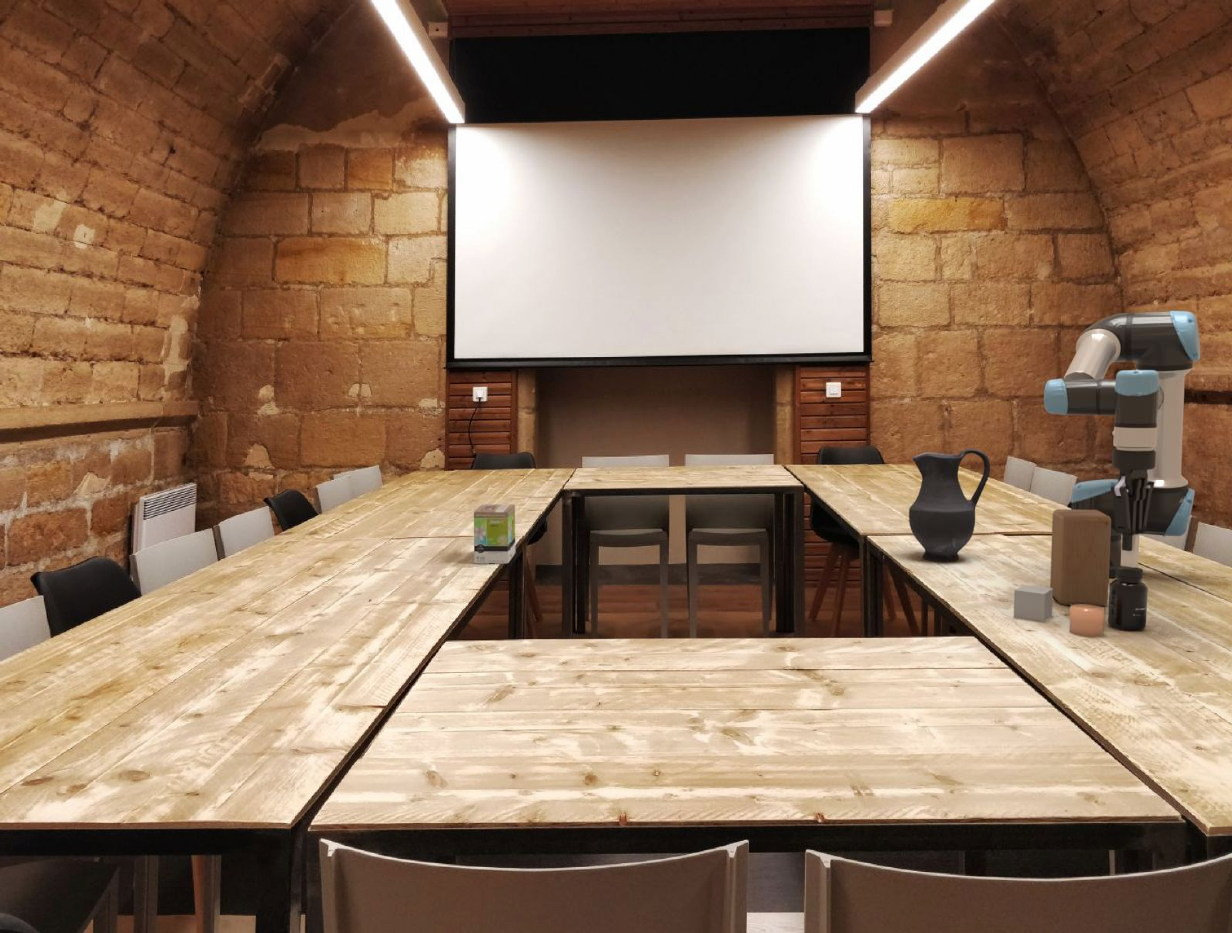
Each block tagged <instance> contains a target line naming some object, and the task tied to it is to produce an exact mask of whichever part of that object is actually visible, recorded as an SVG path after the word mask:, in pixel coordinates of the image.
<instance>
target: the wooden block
mask: <svg viewBox="0 0 1232 933" xmlns="http://www.w3.org/2000/svg"><path fill="white" fill-rule="evenodd" d="M1051 524H1052V528H1051V552H1050V553H1051V554H1050V556H1051V557H1050V558H1051V560H1050V580H1049V581H1050V584H1049V585H1050V586H1049V588H1053V598H1054V599H1055V600H1056V602H1058V603H1059V604H1061V605H1063V606H1071V605H1076V604H1086V605H1094V606H1099V607H1104V606H1107V604H1109V588H1110V583H1109V582H1110V581H1109V580H1110V577H1109V561H1110V536H1111V519H1110V517H1109V516H1107V515H1105V514H1103V513H1101V512H1100V511H1097V510H1071V509H1066V508H1065V509H1058V508H1057V509H1055V510H1054V511H1053V512H1052V521H1051Z"/></svg>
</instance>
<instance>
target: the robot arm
mask: <svg viewBox="0 0 1232 933" xmlns="http://www.w3.org/2000/svg"><path fill="white" fill-rule="evenodd" d="M1200 342H1201V341H1200V332H1199V325H1198V321H1197V318H1196V315H1195V314H1194V313H1193V312H1191V311H1188V310H1187V311H1181V310H1165V311H1148V312H1147V311H1145V312H1144V311H1143V312H1122V313H1116V314H1113V315H1109V316H1106V317H1105V318H1103V319H1100V320H1098V321H1096V322H1094V323H1093V324H1091V325H1090V326H1089V327H1088V328H1086V329H1085V330H1084V331H1083V332H1082V333H1081V334H1080V335H1079V338H1078V339H1077V341H1076V344H1075V355H1074V356H1073V358H1072V361H1071V363H1070V364H1069V366H1068V369H1067V370H1066V372H1065V375H1064V377H1063V378H1057V379H1055V378H1054V379H1049V380H1047V382H1046V383H1045V386H1044V392H1043V404H1044V405H1043V406H1044V409H1045V411H1046V413H1048V414H1051V415H1062V416H1066V415H1067V416H1114V424H1113V431H1112V434H1111V435H1113V444H1112V445H1113V446H1114V447H1115V448H1114V449H1113V450H1112V462H1111V465H1112V467H1113V468H1114V469H1118V470H1119V471H1118V472H1119V473H1118V477H1117V479H1116V478H1115V479H1114V478H1110V479H1109V478H1107V479H1096V480H1094V479H1093V480H1087V481H1081V482H1078V483H1076V484H1075V485H1074V486H1073V487H1072V491H1071V499H1070V504H1071V507H1070V510H1097V511H1100V512H1101V513H1103V514H1105V515H1107V516H1109V517H1110V519H1111V536H1110V561H1109V578H1117V577H1116V576H1115V574H1116V568H1117V567H1120V566H1126V567H1133V568H1135V567H1137V568H1139V557H1140V556H1139V553H1140V552H1139V551H1140V535H1150V536H1151V535H1152V536H1162V537H1181V536H1184V535H1186V533H1187V531H1188V527H1189V524H1190V519H1191V515H1192V510H1193V506H1194V501H1195V500H1194V498H1195V492H1196V491H1195V490H1194V489H1192V488H1189V481H1188V479H1186V478H1185V477H1184V476H1183V475H1182V461H1183V460H1182V459H1183V458H1182V457H1183V431H1184V429H1183V426H1184V402H1185V400H1184V399H1185V379H1186V378H1185V377H1186V375H1188V373H1190V372H1191V371H1192V370H1193V363H1196V362H1199V361H1200V360H1201V343H1200ZM1123 362H1124V363H1126V362H1127V363H1135V369H1130V370H1129V369H1127V370H1125V369H1124V370H1120V371H1118V372H1117V373H1116V374H1115V375H1116V377H1115V378H1114V379H1113V378H1109V379H1107V378H1106V379H1104V378H1105V376H1106V373H1108V372H1107V371H1108V369H1109V367H1110V365H1112V364H1113V363H1123Z"/></svg>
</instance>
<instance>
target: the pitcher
mask: <svg viewBox="0 0 1232 933" xmlns="http://www.w3.org/2000/svg"><path fill="white" fill-rule="evenodd" d="M969 454H974V455H976V456H977V457H980V459H981V460H982V461H983V474H982V477H981V479H980V481H979V483H978V485H977V487H976V489H975V491H974V493H973V494H972V497H971V498H970V499H967V498H966V496H965V494H964V491H963V489H962V487H961V484H960V481H959V468H960V465H961V462H962V460H963V459H964V458H965V456H967V455H969ZM912 461H913V463H914V465H915V466H916V468H917V469H918V472H919V473H920V475H921V478H922V479H921V484H920V488H919V492H918V495H917V497H916V499H915V500H914V502H913V503H912V505H911V506H909V509H908V522H909V527H910V530H911V532H912V534H913V536H914V538H915V539H916V540H917V542H918V543H919V544H920V545H921V546H922V548H923V549H924V552H923V554H922V555H921V558H922V559H924V560H927V561H931V562H938V563H939V562H940V563H941V562H942V563H949V562H951V563H953V562H958V561H959V560H960V556H959V554H958V553H959V552H960V551H961V550H962V549H963V548H964V547H965V546H966V545H967V544H968V543H969V542H970V540H971V538H972V537H973V534H974V531H975V525H976V507H977V504H978V503H979V500H980V497H981V496H982V493H983V491H984V489H985V487H986V484H987V481H988V480H989V476H990V472H991V463H990V459H989V458H988V456H987V454H986V453H984V452H983V451H981V450H979V449H977V448H967V449H963V450H962V451H960V452H959V454H954V453H953V454H952V453H936V452H924V453H920V454H918V455H915V456H913V457H912Z"/></svg>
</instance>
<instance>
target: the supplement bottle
mask: <svg viewBox="0 0 1232 933" xmlns="http://www.w3.org/2000/svg"><path fill="white" fill-rule="evenodd" d="M1115 576H1116V577H1115V578H1116V579H1113V580H1112V581H1110V583H1109V587H1108V610H1107V611H1108V612H1107V624H1108V626H1109V627H1111V628H1114V629H1116V630H1121V631H1129V632H1140V631H1143V630H1144V629H1146V626H1147V616H1148V615H1147V614H1148V613H1147V612H1148V596H1149V595H1148V594H1149V593H1148V592H1149V587H1148V585H1147V584H1146V583H1145V582H1143V581H1142V580H1143V579H1144V569H1142V568H1140V567H1135V568H1133V567H1126V566H1120V567H1117V568H1116V574H1115Z"/></svg>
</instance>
